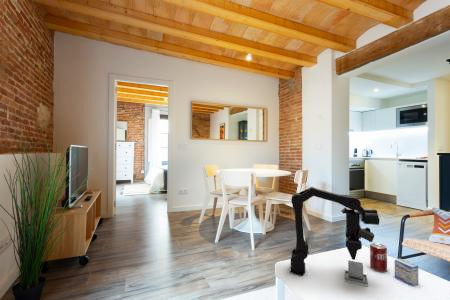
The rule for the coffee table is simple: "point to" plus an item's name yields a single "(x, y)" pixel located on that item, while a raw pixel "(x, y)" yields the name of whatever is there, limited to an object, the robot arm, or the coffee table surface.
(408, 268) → the medicine box
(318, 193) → the robot arm
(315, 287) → the coffee table surface
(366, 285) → the grey green tray
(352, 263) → the billet
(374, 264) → the soda can
